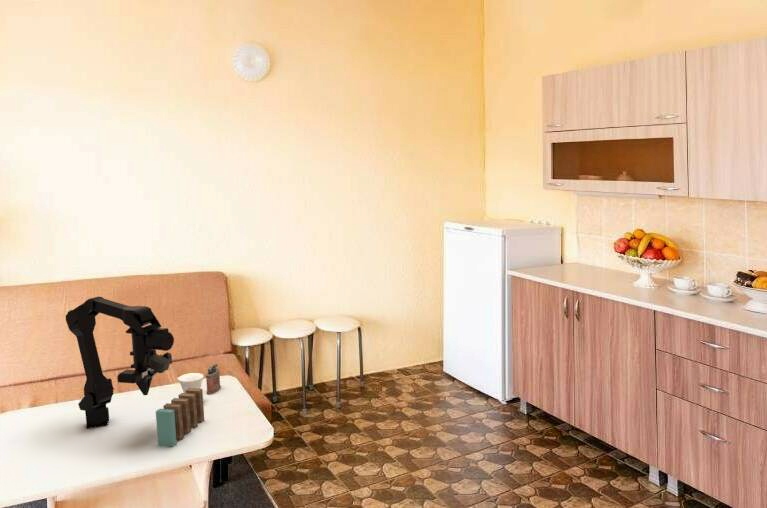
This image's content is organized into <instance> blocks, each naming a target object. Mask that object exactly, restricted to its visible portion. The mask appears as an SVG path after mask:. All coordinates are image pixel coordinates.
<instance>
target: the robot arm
mask: <svg viewBox="0 0 767 508" xmlns="http://www.w3.org/2000/svg"><path fill="white" fill-rule="evenodd" d="M99 314H102V315H105V316H108V317H112V318H115V319H119V320H121V321H122V323H123V324H124V325H126V326H127V327H128V329H126V331H125V333H126V334H131V345H132V351H130V352H129V356H132V358H133V359H132V361H133V363H132V364H130V368H131V369H125V370H123V371H121V372H120V373H118V374H117V376H116V377H117V378H116V379H117V383H120V384H122V383H124V384H136V386H137V388H138V389H139V390H140V392H141V393H142V395H143V396H148V395H149V391H150V387H151V384H152V380H153V378H154V376H156V374H163V373H164V372H166V371H168V370H169V368H170V365H171V364H173V361H172V360H173V358H172V357H173V356H172V353H171V352H168V351H170V350H171V349H172V348H173V346H174V343H175V337H174V335H173V334H172V333H171V332H169V328H167V327H164V328H163V327H162V325H161V323H160V321H159V320H158V319H157V317H156V315H155V314H154V311H152V308H151V307H149V306H146V305H143V306H142V305H131V306H130V305H128V304H124V303H120V302H117V301H113V300H111V299H107V298H104V297H103V296H95V297H91V298H88V299H87V300H85V301H84V302H83V303H81V304H79V306H77V307H75V308H74V309H71V310H68V311H67V313H66V314H65V322H66V324H67V327H68V330H69V331H70V332H71V333H72V334H73V335H74V336H75V337H76V340H77V346H78V349H79V353H80V358H81V361H82V365H83V369H84V373H85V378H86V379H85V380H86V381H85V383H84V386H83V394H84V395H83V396H84V397H82V399H81V400H79V402H78V404H77V405H78V408H79V410H80V411H84V413H85V423H86V424H85V429H87V430H88V429H93V428H94V429H95V428H98V427H99V428H101V427H105V426H108V425H109V422H110V412H109V411H110V410H109V407H108V406H107V404H110V403H111V402H112V397H113V396H114V390H115V387H114V386H113V381H112V379H111V378H110V377H109V378H107V377H106V376H105V375H104V373H103V369H102V365H101V361H100V355H99V353H98V348H97V344H96V340H95V336H94V331H95V327H96V325H97V322H96V321H97V320H96V317H97V316H98V315H99ZM157 351H165V353H163V354H157Z"/></svg>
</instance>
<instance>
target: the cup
mask: <svg viewBox="0 0 767 508" xmlns="http://www.w3.org/2000/svg"><path fill="white" fill-rule="evenodd" d="M204 378H205V376H204V374H203V373H199V372H191V373H185V374H182V375H180V376H178V377H177V378H176V381H177V382H178V383H179V384H180V386H181V389H182V393H186V390H187V389H188V388H196V389H202V383H203V380H204Z"/></svg>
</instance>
